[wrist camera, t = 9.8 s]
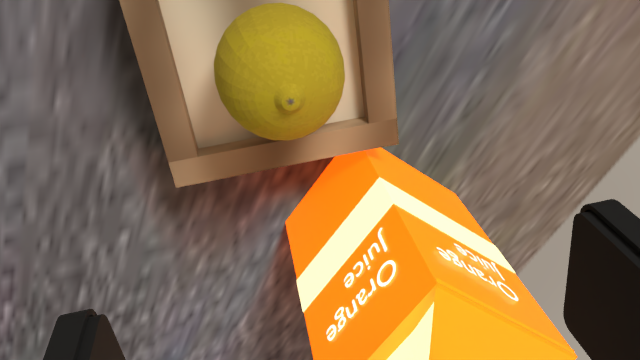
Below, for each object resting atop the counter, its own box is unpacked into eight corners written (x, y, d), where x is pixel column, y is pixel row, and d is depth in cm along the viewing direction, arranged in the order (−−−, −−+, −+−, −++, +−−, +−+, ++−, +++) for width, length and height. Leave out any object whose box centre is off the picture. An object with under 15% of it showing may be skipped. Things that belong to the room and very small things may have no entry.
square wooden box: (360, -107, 28) (381, -104, 24) (379, 115, 34) (398, 143, 30) (115, -68, 27) (101, -58, 23) (180, 154, 33) (176, 187, 29)
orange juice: (354, 128, 34) (501, 395, 17) (457, 192, 38) (667, 468, 20) (282, 224, 36) (345, 544, 19) (385, 275, 40) (517, 586, 23)
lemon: (334, -3, 27) (377, 36, 20) (316, 106, 30) (349, 174, 23) (217, -19, 26) (220, 16, 19) (209, 96, 28) (209, 165, 21)
